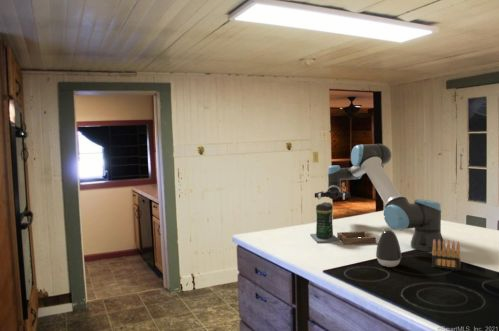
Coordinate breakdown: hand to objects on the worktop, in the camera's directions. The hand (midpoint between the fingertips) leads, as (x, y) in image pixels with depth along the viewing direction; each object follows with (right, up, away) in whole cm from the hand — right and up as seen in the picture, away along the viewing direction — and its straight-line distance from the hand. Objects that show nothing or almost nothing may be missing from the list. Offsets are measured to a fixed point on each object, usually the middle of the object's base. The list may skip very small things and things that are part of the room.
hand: (331, 197), depth 231 cm
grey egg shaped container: (+14, -25, -55) cm, 62 cm away
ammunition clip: (+35, -25, -61) cm, 75 cm away
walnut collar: (+10, -22, -14) cm, 28 cm away
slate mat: (-5, -22, -8) cm, 24 cm away
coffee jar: (-5, -21, -8) cm, 23 cm away
